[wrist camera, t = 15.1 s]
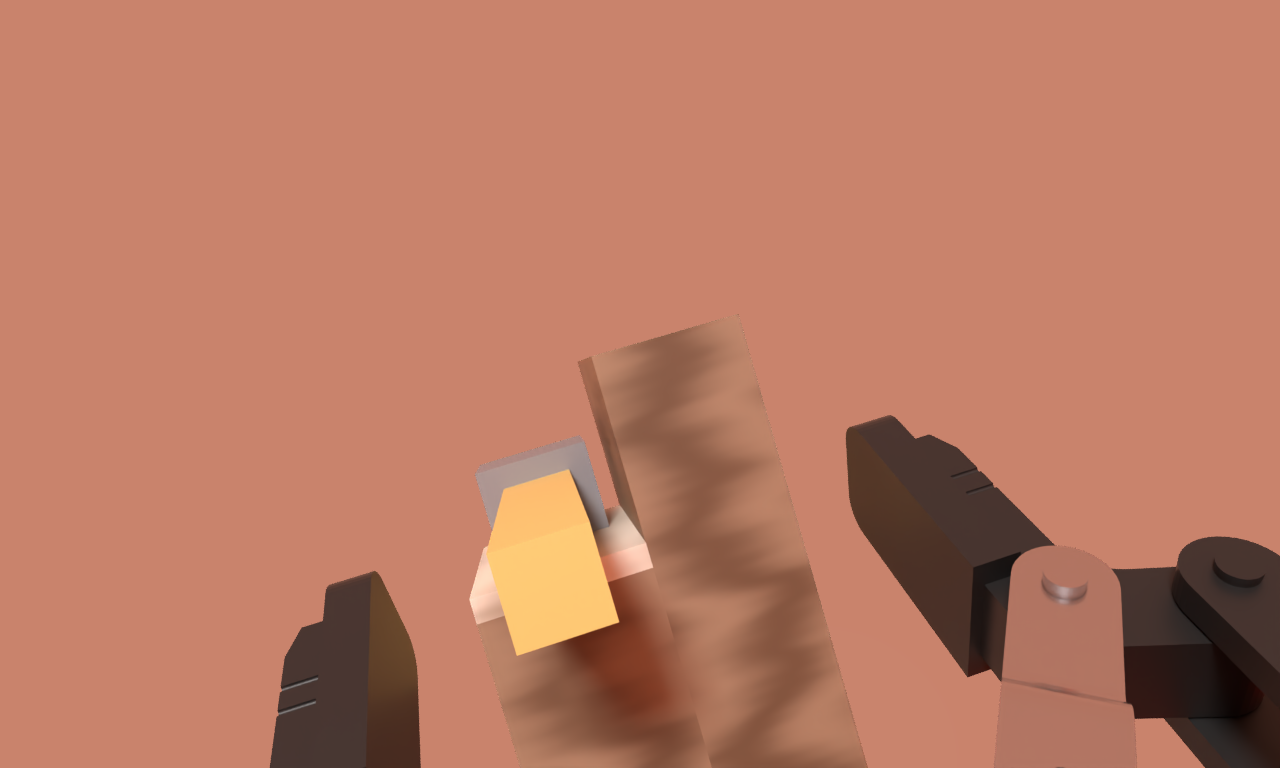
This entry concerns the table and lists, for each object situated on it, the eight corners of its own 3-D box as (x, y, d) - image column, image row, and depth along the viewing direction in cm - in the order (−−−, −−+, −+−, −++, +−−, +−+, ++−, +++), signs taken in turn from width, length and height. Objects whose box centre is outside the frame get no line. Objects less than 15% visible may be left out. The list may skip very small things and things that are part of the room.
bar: (482, 667, 24) (440, 530, 24) (504, 543, 42) (480, 465, 41) (652, 611, 24) (613, 477, 24) (602, 512, 42) (579, 435, 42)
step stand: (653, 1208, 33) (411, 408, 32) (626, 1018, 43) (440, 401, 42) (957, 1082, 35) (738, 314, 33) (863, 926, 45) (691, 328, 43)
